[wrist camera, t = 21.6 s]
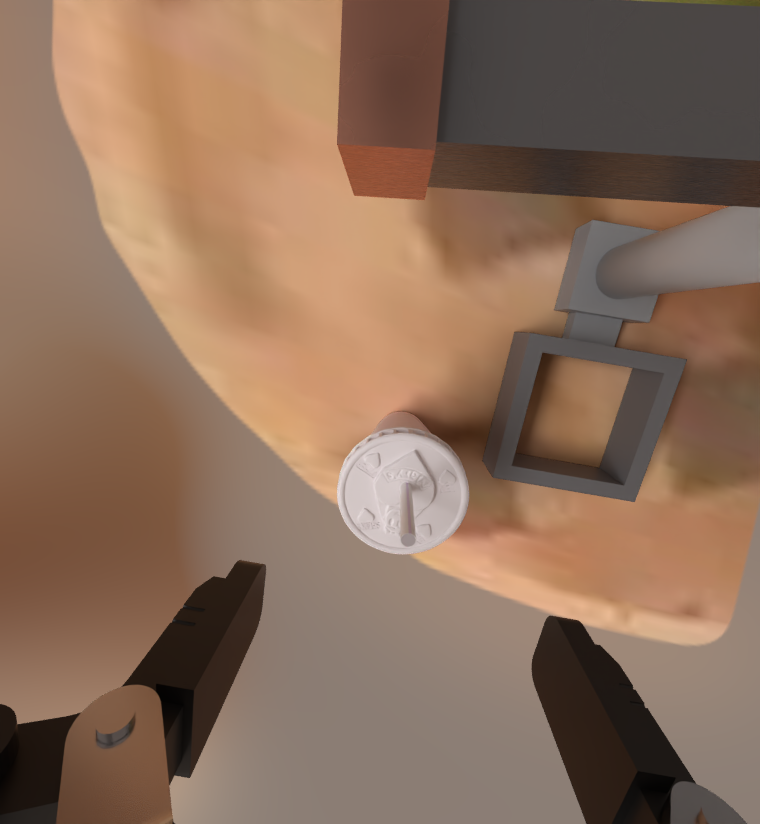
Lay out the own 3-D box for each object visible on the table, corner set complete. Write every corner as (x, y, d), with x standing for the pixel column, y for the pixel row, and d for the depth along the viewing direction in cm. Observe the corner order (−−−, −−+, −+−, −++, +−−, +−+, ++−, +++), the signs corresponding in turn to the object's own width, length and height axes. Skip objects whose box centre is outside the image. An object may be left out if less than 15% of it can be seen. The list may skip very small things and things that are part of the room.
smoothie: (455, 404, 26) (520, 495, 12) (431, 485, 27) (465, 644, 14) (367, 383, 26) (335, 450, 12) (348, 465, 27) (300, 605, 14)
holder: (541, 223, 23) (833, 15, 8) (689, 248, 23) (1283, 89, 7) (482, 460, 27) (596, 641, 11) (608, 482, 27) (893, 694, 11)
